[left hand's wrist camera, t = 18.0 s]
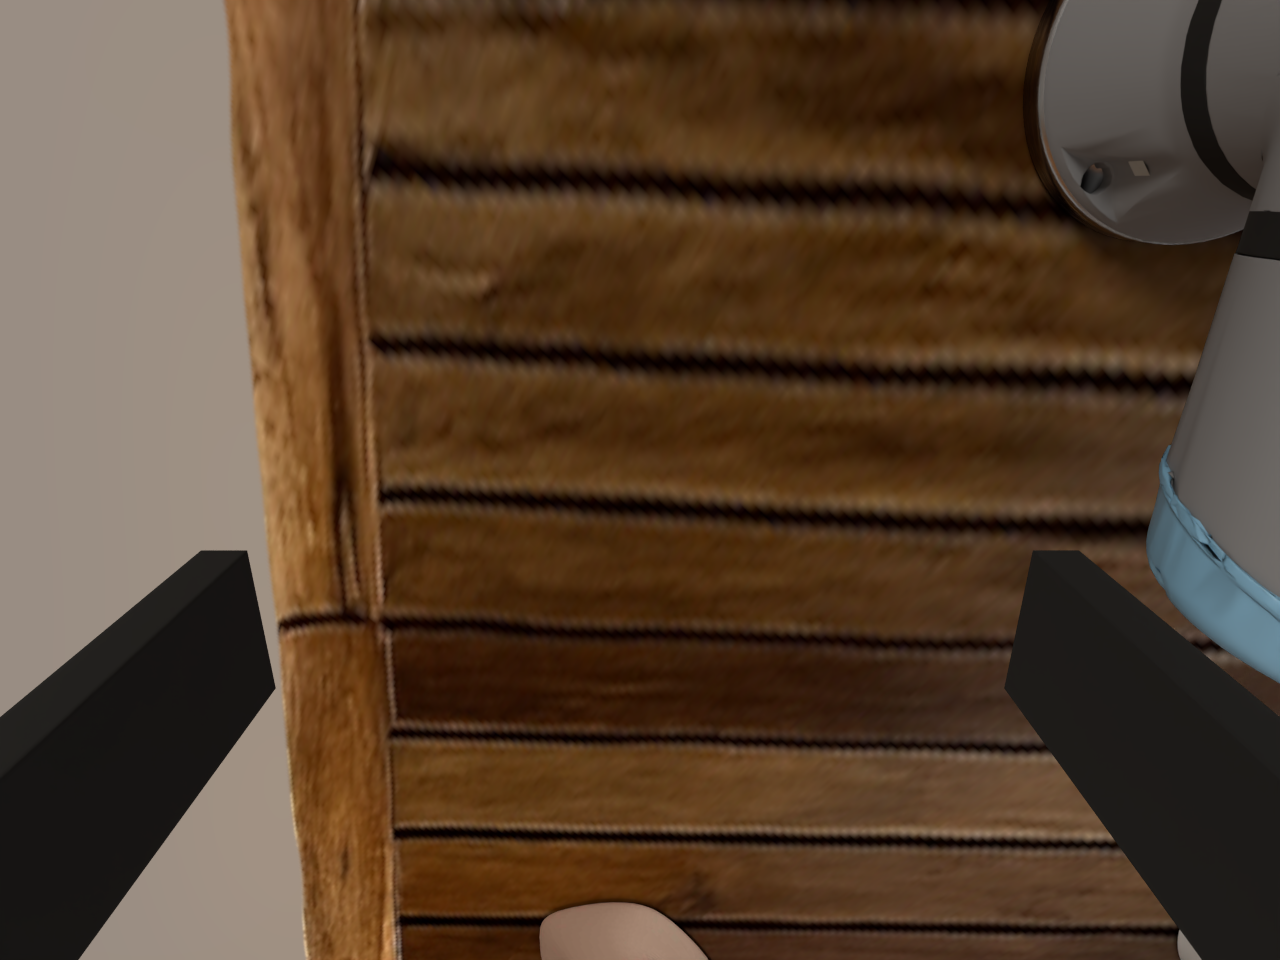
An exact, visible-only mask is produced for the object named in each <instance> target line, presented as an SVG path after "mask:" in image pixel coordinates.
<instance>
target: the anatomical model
mask: <svg viewBox="0 0 1280 960" xmlns="http://www.w3.org/2000/svg"><path fill="white" fill-rule="evenodd" d="M540 949H541V957H542V960H708V959H707V957H706V956H705V954H704V953H703V952H702V951H701V950H700V948H699V947H698V946H697V945H696V944H695V943H694V942H693V941H692V940H691V939H690V938H689V937H688V936H687V935H686V934H685V933H684V932H683V931H682V930H681V929H680V928H679V927H678V926H677V925H676V924H674V923H673V922H672V921H671V920H669V919H668V918H667V917H665V916H664V915H662V914H661V913H659V912H657V911H656V910H654V909H652V908H649V907H646V906H643V905H640V904H635V903H626V902H608V903H596V904H588V905H582V906H577V907H572V908H568V909H564V910H560V911H557V912H555V913H553V914H550V915H549V916H548V917H546V918H545V919H544V921H543V922H542V924H541V928H540Z"/></svg>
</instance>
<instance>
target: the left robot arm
mask: <svg viewBox="0 0 1280 960" xmlns="http://www.w3.org/2000/svg"><path fill="white" fill-rule="evenodd" d="M1023 115H1024V127H1025V133H1026V140H1027V144H1028V147H1029V151H1030V155H1031V158H1032V160H1033V163H1034V166H1035V168H1036V171H1037V173H1038V175H1039V177H1040V179H1041V180H1042V182H1043V184H1044V186H1045V187H1046V189H1047V190H1048V192H1049V193H1050V195H1051V196H1052V197H1053V198H1054V199H1055V201H1056V202H1057V203H1058V204H1059V205H1060V206H1061V207H1062V208H1063V209H1064V210H1065V211H1066V212H1067V213H1068V214H1069V215H1070V216H1072V217H1073V218H1075V219H1076V220H1077V221H1079V222H1080V223H1081V224H1083V225H1085V226H1087V227H1089V228H1090V229H1092V230H1094V231H1097V232H1099V233H1102V234H1104V235H1106V236H1110V237H1114V238H1117V239H1121V240H1127V241H1134V242H1142V243H1151V244H1164V245H1181V244H1192V243H1199V242H1205V241H1209V240H1213V239H1217V238H1221V237H1224V236H1227V235H1230V234H1233V233H1235V232H1238V231H1240V230H1242V229H1244V230H1243V233H1242V236H1241V239H1240V242H1239V245H1238V248H1237V251H1236V253H1235V254H1234V256H1233V260H1232V263H1231V266H1230V269H1229V272H1228V275H1227V278H1226V281H1225V284H1224V287H1223V291H1222V294H1221V297H1220V300H1219V303H1218V306H1217V309H1216V312H1215V315H1214V318H1213V321H1212V325H1211V328H1210V331H1209V334H1208V337H1207V340H1206V343H1205V346H1204V349H1203V352H1202V356H1201V359H1200V362H1199V365H1198V368H1197V371H1196V374H1195V377H1194V380H1193V383H1192V387H1191V390H1190V393H1189V395H1188V398H1187V401H1186V404H1185V407H1184V410H1183V413H1182V415H1181V418H1180V421H1179V424H1178V427H1177V430H1176V433H1175V436H1174V438H1173V441H1172V444H1171V445H1169V446H1168V447H1167V449H1166V450H1165V452H1164V454H1163V457H1162V460H1161V462H1160V464H1159V478H1160V486H1159V490H1158V495H1157V499H1156V503H1155V507H1154V511H1153V515H1152V518H1151V522H1150V525H1149V529H1148V534H1147V540H1146V544H1147V548H1146V550H1147V556H1148V561H1149V565H1150V568H1151V570H1152V572H1153V574H1154V575H1155V577H1156V579H1157V581H1158V583H1159V584H1160V585H1161V586H1162V587H1163V588H1164V589H1165V591H1166V595H1167V596H1168V598H1169V600H1170V601H1171V602H1172V604H1173V605H1174V606H1175V607H1176V608H1177V609H1178V610H1179V611H1180V612H1181V613H1182V614H1183V615H1184V616H1185V617H1186V618H1187V619H1188V620H1189V621H1190V622H1191V623H1192V624H1193V625H1194V626H1195V627H1197V628H1198V629H1199V630H1200V631H1201V632H1203V633H1204V634H1205V635H1206V636H1207V637H1209V638H1210V639H1211V640H1213V641H1214V642H1215V643H1216V644H1218V645H1219V646H1220V647H1222V648H1223V649H1225V650H1226V651H1228V652H1229V653H1230V654H1232V655H1233V656H1235V657H1237V658H1238V659H1240V660H1241V661H1243V662H1244V663H1246V664H1248V665H1249V666H1251V667H1252V668H1254V669H1256V670H1257V671H1259V672H1261V673H1262V674H1264V675H1266V676H1268V677H1269V678H1271V679H1273V680H1275V681H1276V682H1278V683H1280V0H1050V2H1049V4H1048V6H1047V8H1046V10H1045V12H1044V14H1043V16H1042V19H1041V21H1040V24H1039V26H1038V29H1037V32H1036V34H1035V37H1034V40H1033V44H1032V47H1031V51H1030V54H1029V59H1028V64H1027V68H1026V74H1025V82H1024V93H1023ZM274 690H275V683H274V678H273V673H272V668H271V664H270V659H269V654H268V649H267V644H266V640H265V635H264V630H263V625H262V620H261V616H260V611H259V606H258V601H257V596H256V591H255V587H254V582H253V577H252V572H251V568H250V563H249V558H248V553H247V551H200V552H199V553H198V554H196V555H195V556H194V557H193V558H192V559H190V560H189V561H188V562H187V563H186V564H184V565H183V566H182V567H181V568H180V569H178V570H177V571H176V572H175V573H174V574H172V575H171V576H170V577H169V578H168V579H166V580H165V581H164V582H163V583H161V584H160V585H159V586H158V587H157V588H155V589H154V590H153V591H152V592H151V593H149V594H148V595H147V596H146V597H145V598H143V599H142V600H141V601H140V602H139V603H137V604H136V605H135V606H134V607H132V608H131V609H130V610H129V611H128V612H126V613H125V614H124V615H123V616H122V617H120V618H119V619H118V620H117V621H116V622H114V623H113V624H112V625H111V626H110V627H108V628H107V629H106V630H105V631H104V632H102V633H101V634H100V635H99V636H98V637H96V638H95V639H94V640H93V641H91V642H90V643H89V644H88V645H87V646H85V647H84V648H83V649H82V650H81V651H79V652H78V653H77V654H76V655H75V656H73V657H72V658H71V659H70V660H69V661H67V662H66V663H65V664H64V665H63V666H61V667H60V668H59V669H58V670H57V671H55V672H54V673H53V674H52V675H51V676H49V677H48V678H47V679H46V680H44V681H43V682H42V683H41V684H40V685H38V686H37V687H36V688H35V689H34V690H32V691H31V692H30V693H29V694H28V695H26V696H25V697H24V698H23V699H22V700H20V701H19V702H18V703H17V704H16V705H14V706H13V707H12V708H11V709H9V710H8V711H7V712H6V713H5V714H3V715H2V716H1V717H0V960H78V959H79V958H80V957H81V955H82V954H83V953H84V951H85V950H86V948H87V947H88V946H89V944H90V943H91V941H92V940H93V939H94V937H95V936H96V935H97V933H98V932H99V931H100V929H101V928H102V926H103V925H104V924H105V922H106V921H107V920H108V918H109V917H110V915H111V914H112V913H113V911H114V910H115V909H116V907H117V906H118V904H119V903H120V902H121V900H122V899H123V898H124V896H125V895H126V893H127V892H128V891H129V889H130V888H131V886H132V885H133V884H134V882H135V881H136V880H137V878H138V877H139V876H140V874H141V873H142V871H143V870H144V869H145V867H146V866H147V865H148V863H149V862H150V860H151V859H152V858H153V856H154V855H155V854H156V852H157V851H158V849H159V848H160V847H161V845H162V844H163V843H164V841H165V840H166V838H167V837H168V836H169V834H170V833H171V831H172V830H173V829H174V827H175V826H176V825H177V823H178V822H179V821H180V819H181V818H182V816H183V815H184V814H185V812H186V811H187V809H188V808H189V807H190V805H191V804H192V803H193V801H194V800H195V798H196V797H197V796H198V794H199V793H200V792H201V790H202V789H203V787H204V786H205V785H206V783H207V782H208V780H209V779H210V778H211V776H212V775H213V774H214V772H215V771H216V770H217V768H218V767H219V765H220V764H221V763H222V761H223V760H224V759H225V757H226V756H227V754H228V753H229V752H230V750H231V749H232V748H233V746H234V745H235V743H236V742H237V741H238V739H239V738H240V737H241V735H242V734H243V732H244V731H245V730H246V728H247V727H248V726H249V724H250V723H251V721H252V720H253V719H254V717H255V716H256V714H257V713H258V712H259V710H260V709H261V708H262V706H263V705H264V703H265V702H266V701H267V699H268V698H269V697H270V695H271V694H272V692H273V691H274ZM1005 690H1006V691H1007V693H1008V694H1009V695H1010V697H1011V698H1012V699H1013V701H1014V702H1015V704H1016V705H1017V706H1018V708H1019V709H1020V710H1021V712H1022V713H1023V715H1024V716H1025V717H1026V719H1027V720H1028V721H1029V723H1030V724H1031V726H1032V727H1033V728H1034V730H1035V731H1036V732H1037V734H1038V735H1039V737H1040V738H1041V739H1042V741H1043V742H1044V743H1045V745H1046V746H1047V748H1048V749H1049V750H1050V752H1051V753H1052V754H1053V756H1054V757H1055V759H1056V760H1057V761H1058V763H1059V764H1060V765H1061V767H1062V768H1063V770H1064V771H1065V772H1066V774H1067V775H1068V776H1069V778H1070V779H1071V781H1072V782H1073V783H1074V785H1075V786H1076V787H1077V789H1078V790H1079V792H1080V793H1081V794H1082V796H1083V797H1084V798H1085V800H1086V801H1087V803H1088V804H1089V805H1090V807H1091V808H1092V809H1093V811H1094V812H1095V814H1096V815H1097V816H1098V818H1099V819H1100V821H1101V822H1102V823H1103V825H1104V826H1105V827H1106V829H1107V830H1108V832H1109V833H1110V834H1111V836H1112V837H1113V838H1114V840H1115V841H1116V843H1117V844H1118V845H1119V847H1120V848H1121V849H1122V851H1123V852H1124V854H1125V855H1126V856H1127V858H1128V859H1129V860H1130V862H1131V863H1132V865H1133V866H1134V867H1135V869H1136V870H1137V871H1138V873H1139V874H1140V876H1141V877H1142V878H1143V880H1144V881H1145V882H1146V884H1147V885H1148V887H1149V888H1150V889H1151V891H1152V892H1153V893H1154V895H1155V896H1156V898H1157V899H1158V900H1159V902H1160V903H1161V904H1162V906H1163V907H1164V909H1165V910H1166V911H1167V913H1168V914H1169V915H1170V917H1171V918H1172V920H1173V921H1174V922H1175V924H1176V925H1177V926H1178V928H1179V929H1180V931H1181V932H1182V933H1183V935H1184V936H1185V937H1186V939H1187V940H1188V942H1189V943H1190V944H1191V946H1192V947H1193V948H1194V950H1195V951H1196V953H1197V954H1198V955H1199V957H1200V958H1201V960H1280V717H1279V716H1278V715H1277V714H1275V713H1274V712H1273V711H1272V710H1271V709H1269V708H1268V707H1267V706H1266V705H1264V704H1263V703H1262V702H1261V701H1260V700H1258V699H1257V698H1256V697H1255V696H1254V695H1252V694H1251V693H1250V692H1249V691H1248V690H1246V689H1245V688H1244V687H1243V686H1242V685H1240V684H1239V683H1238V682H1237V681H1236V680H1234V679H1233V678H1232V677H1231V676H1230V675H1228V674H1227V673H1226V672H1225V671H1223V670H1222V669H1221V668H1220V667H1219V666H1217V665H1216V664H1215V663H1214V662H1213V661H1211V660H1210V659H1209V658H1208V657H1207V656H1205V655H1204V654H1203V653H1202V652H1201V651H1199V650H1198V649H1197V648H1196V647H1195V646H1193V645H1192V644H1191V643H1190V642H1189V641H1187V640H1186V639H1185V638H1184V637H1182V636H1181V635H1180V634H1179V633H1178V632H1176V631H1175V630H1174V629H1173V628H1172V627H1170V626H1169V625H1168V624H1167V623H1166V622H1164V621H1163V620H1162V619H1161V618H1160V617H1158V616H1157V615H1156V614H1155V613H1154V612H1152V611H1151V610H1150V609H1149V608H1148V607H1146V606H1145V605H1144V604H1143V603H1141V602H1140V601H1139V600H1138V599H1137V598H1135V597H1134V596H1133V595H1132V594H1131V593H1129V592H1128V591H1127V590H1126V589H1125V588H1123V587H1122V586H1121V585H1120V584H1119V583H1117V582H1116V581H1115V580H1114V579H1113V578H1111V577H1110V576H1109V575H1108V574H1106V573H1105V572H1104V571H1103V570H1102V569H1100V568H1099V567H1098V566H1097V565H1096V564H1094V563H1093V562H1092V561H1091V560H1090V559H1088V558H1087V557H1086V556H1085V555H1084V554H1082V553H1081V552H1080V551H1033V553H1032V558H1031V563H1030V567H1029V572H1028V577H1027V582H1026V587H1025V591H1024V596H1023V601H1022V606H1021V611H1020V616H1019V620H1018V625H1017V630H1016V635H1015V640H1014V644H1013V649H1012V654H1011V659H1010V664H1009V668H1008V673H1007V678H1006V683H1005Z"/></svg>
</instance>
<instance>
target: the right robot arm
mask: <svg viewBox="0 0 1280 960" xmlns="http://www.w3.org/2000/svg"><path fill="white" fill-rule="evenodd" d="M1177 946H1178V953H1179V957H1180V959H1181V960H1201V958H1200V957H1199V955H1198V954H1197V953H1196V951H1195V950H1194V948H1193V947H1192V946H1191V944H1190V943H1189V942H1188V940H1187V939H1186V937H1185V936H1184V935H1183V933H1182V932H1181V931H1180V930H1179V934H1178V941H1177Z"/></svg>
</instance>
